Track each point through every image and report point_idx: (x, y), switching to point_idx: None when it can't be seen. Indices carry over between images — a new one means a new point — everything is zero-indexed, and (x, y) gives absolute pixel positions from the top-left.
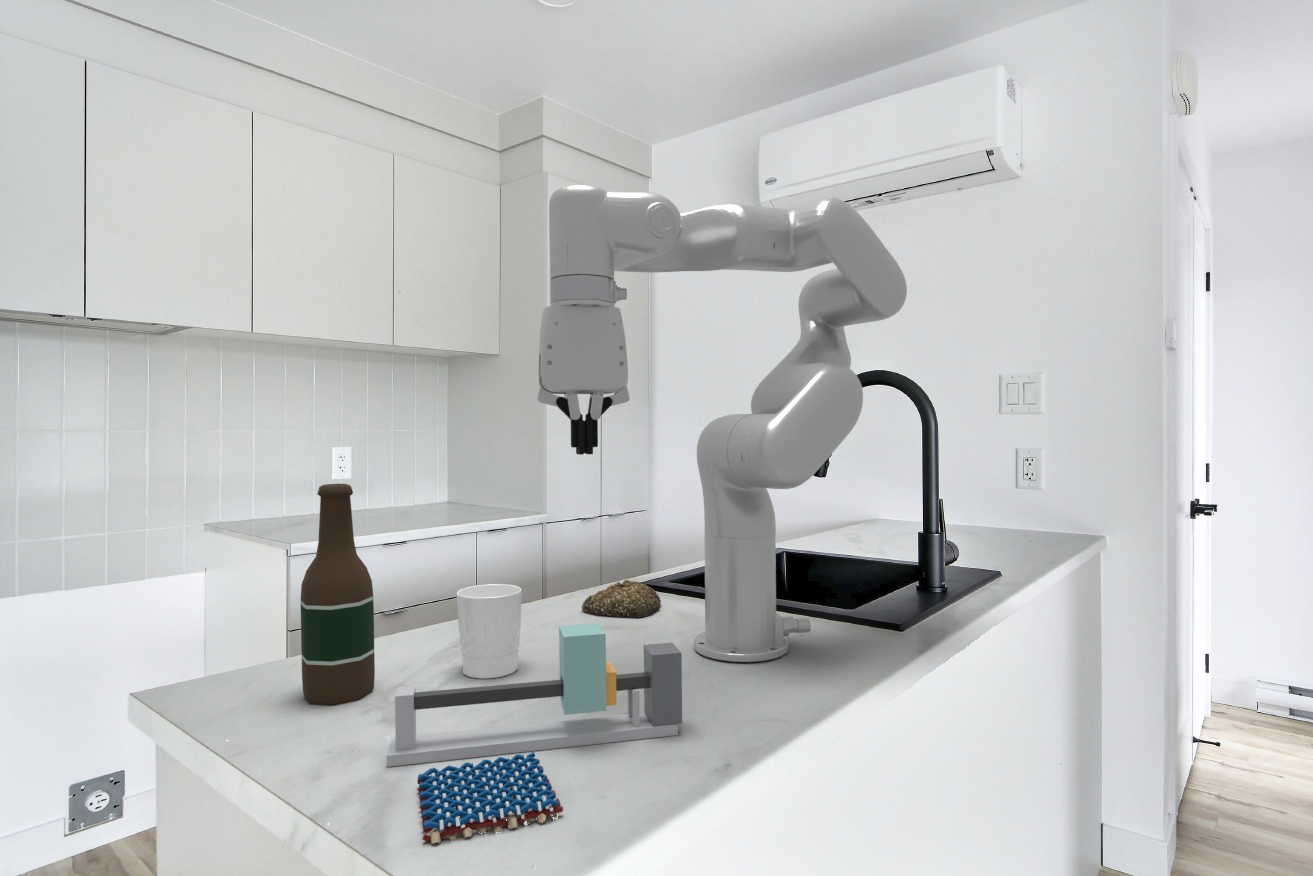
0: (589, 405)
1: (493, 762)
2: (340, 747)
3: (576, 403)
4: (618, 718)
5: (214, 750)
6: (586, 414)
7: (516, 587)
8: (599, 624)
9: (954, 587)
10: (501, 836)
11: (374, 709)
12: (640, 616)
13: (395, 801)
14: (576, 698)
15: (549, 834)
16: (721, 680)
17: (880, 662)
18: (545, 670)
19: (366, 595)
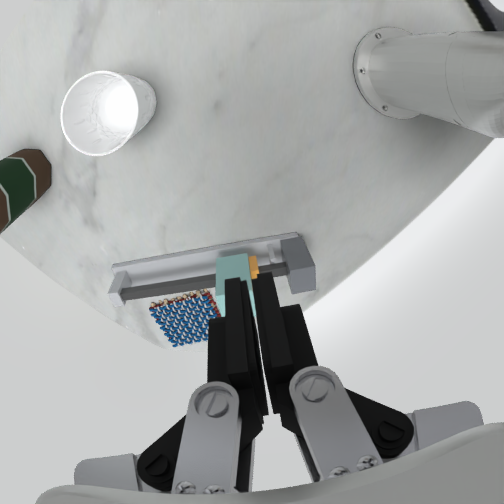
0: (307, 438)
1: (186, 307)
2: (83, 260)
3: (243, 477)
4: (259, 247)
5: (27, 259)
6: (282, 409)
7: (128, 86)
8: (252, 293)
9: None
10: None
11: (69, 202)
12: None
13: (145, 314)
14: None
15: None
16: (357, 154)
17: (472, 143)
18: (186, 104)
19: (5, 210)
